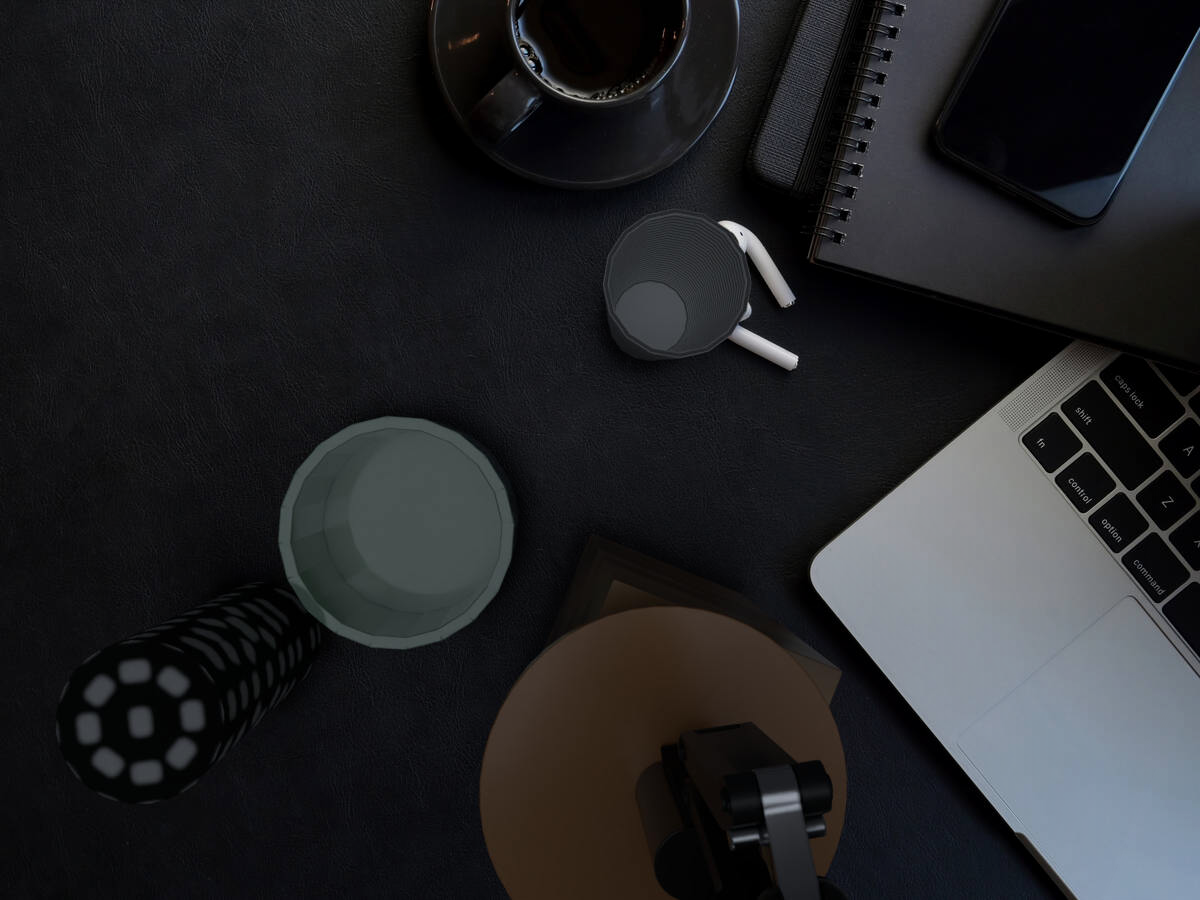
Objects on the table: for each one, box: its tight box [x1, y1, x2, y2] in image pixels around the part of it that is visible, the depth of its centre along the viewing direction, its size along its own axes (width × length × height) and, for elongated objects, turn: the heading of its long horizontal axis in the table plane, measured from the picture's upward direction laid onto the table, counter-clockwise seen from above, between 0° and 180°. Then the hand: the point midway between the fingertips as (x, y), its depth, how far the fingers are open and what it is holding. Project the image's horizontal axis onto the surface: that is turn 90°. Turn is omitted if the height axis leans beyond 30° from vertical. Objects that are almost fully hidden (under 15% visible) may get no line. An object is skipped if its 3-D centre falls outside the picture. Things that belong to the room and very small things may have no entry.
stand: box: [542, 532, 844, 707], centre depth 56 cm, size 12×12×24 cm
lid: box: [478, 604, 848, 900], centre depth 36 cm, size 16×16×8 cm
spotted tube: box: [55, 581, 322, 805], centre depth 57 cm, size 8×8×20 cm
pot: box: [277, 415, 520, 651], centre depth 63 cm, size 15×15×9 cm
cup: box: [602, 208, 752, 362], centre depth 61 cm, size 8×8×16 cm
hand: (698, 790), depth 39 cm, fingers closed on lid, 3 cm apart
